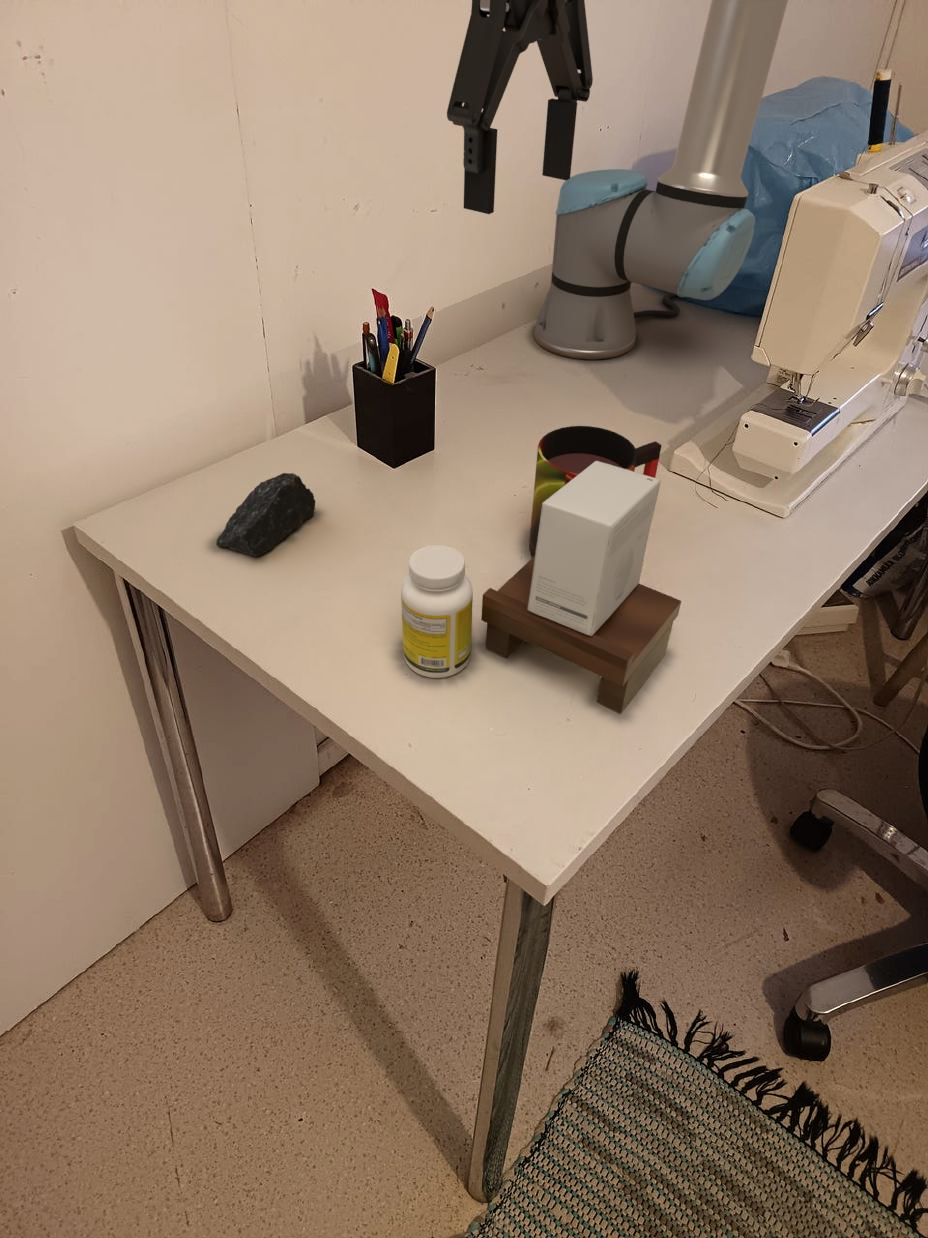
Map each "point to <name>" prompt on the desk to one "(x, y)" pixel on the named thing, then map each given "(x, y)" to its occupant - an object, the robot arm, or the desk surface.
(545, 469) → the mug
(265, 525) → the rock
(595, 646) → the shelf
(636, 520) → the cosmetics box
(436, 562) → the pill bottle
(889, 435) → the desk surface
